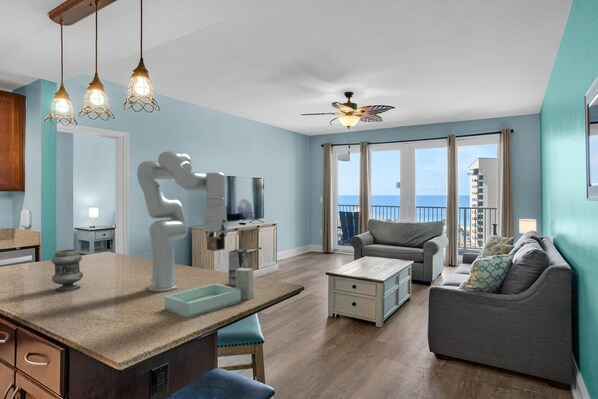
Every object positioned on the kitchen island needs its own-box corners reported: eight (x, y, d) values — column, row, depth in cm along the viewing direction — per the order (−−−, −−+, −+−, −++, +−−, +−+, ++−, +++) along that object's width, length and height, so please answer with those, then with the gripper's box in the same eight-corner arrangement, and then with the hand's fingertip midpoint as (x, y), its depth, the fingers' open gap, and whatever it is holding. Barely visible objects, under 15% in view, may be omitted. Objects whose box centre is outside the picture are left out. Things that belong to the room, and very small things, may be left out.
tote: (164, 309, 135) (164, 295, 135) (215, 295, 153) (215, 283, 153) (189, 318, 125) (189, 303, 125) (240, 301, 143) (240, 289, 143)
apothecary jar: (48, 289, 164) (48, 250, 163) (78, 284, 172) (78, 247, 172) (55, 294, 155) (55, 253, 155) (86, 288, 164) (86, 250, 164)
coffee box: (241, 285, 169) (240, 252, 169) (228, 285, 170) (228, 251, 170) (247, 281, 178) (247, 249, 178) (235, 280, 179) (235, 248, 179)
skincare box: (253, 297, 150) (253, 268, 150) (249, 299, 146) (248, 270, 146) (240, 295, 152) (240, 267, 152) (235, 298, 148) (235, 269, 148)
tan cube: (207, 249, 143) (206, 237, 143) (217, 248, 147) (216, 236, 147) (214, 250, 140) (214, 238, 140) (224, 249, 144) (224, 237, 144)
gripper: (194, 203, 146) (195, 247, 146) (221, 203, 135) (222, 251, 135) (209, 202, 151) (210, 245, 152) (236, 203, 141) (237, 249, 141)
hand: (215, 247), depth 143 cm, fingers closed on tan cube, 4 cm apart
